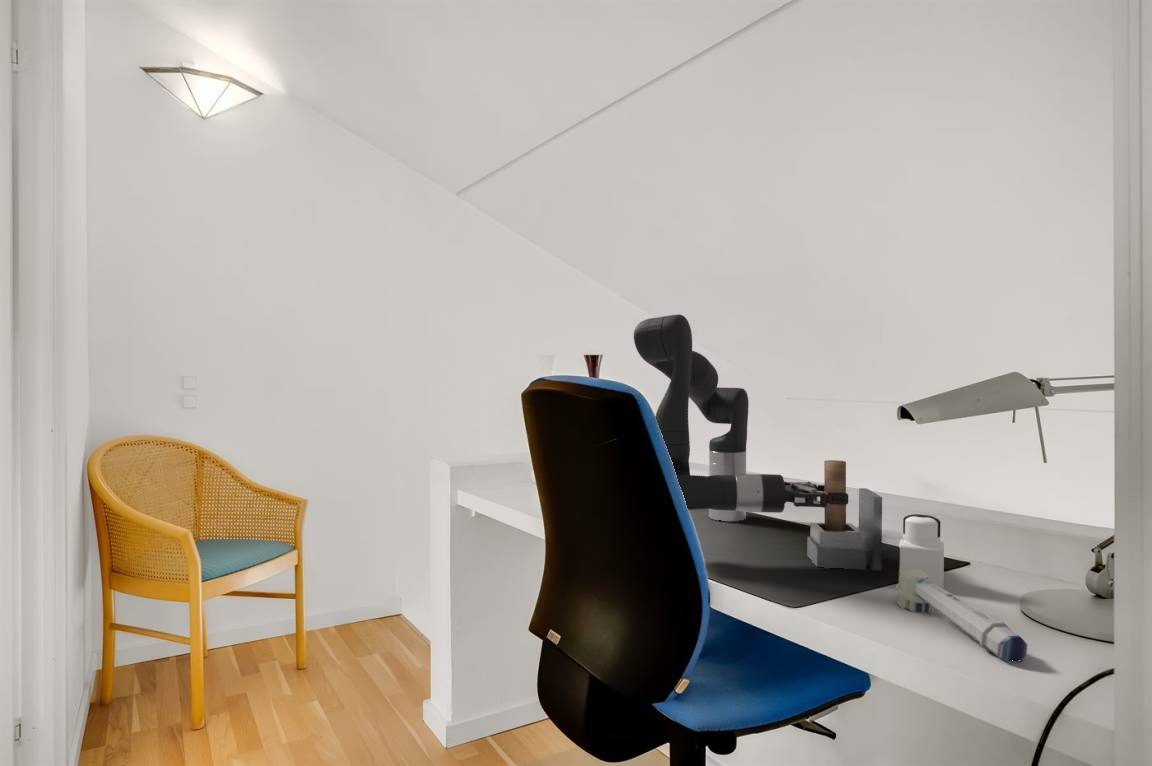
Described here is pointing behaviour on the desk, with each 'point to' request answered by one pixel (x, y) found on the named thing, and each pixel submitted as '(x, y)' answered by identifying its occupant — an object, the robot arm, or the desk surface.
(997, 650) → the toothbrush head
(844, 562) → the cup bracket
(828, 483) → the brown wooden cylinder
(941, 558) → the medicine bottle
